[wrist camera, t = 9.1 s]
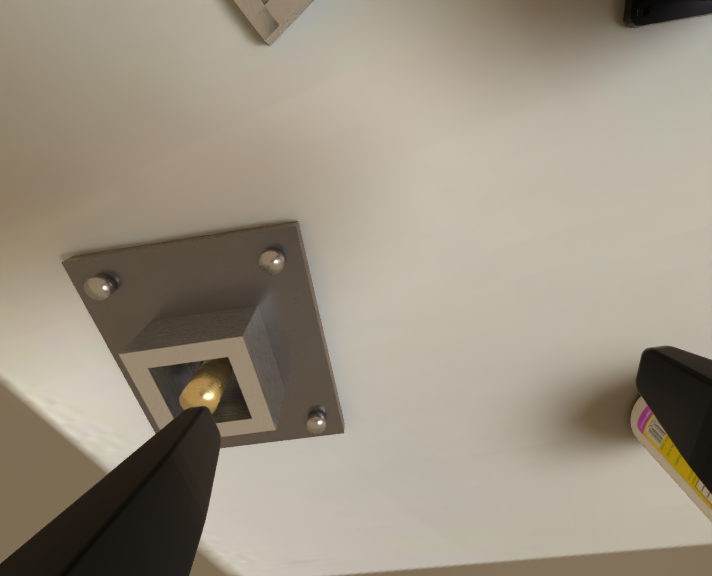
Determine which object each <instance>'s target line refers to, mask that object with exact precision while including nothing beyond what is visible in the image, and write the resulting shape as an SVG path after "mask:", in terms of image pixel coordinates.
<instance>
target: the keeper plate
mask: <svg viewBox="0 0 712 576" xmlns="http://www.w3.org/2000/svg"><path fill="white" fill-rule="evenodd" d="M62 264H63V266H64V268H65V270H66V271H67V273H68V275H69V277H70V279H71V280H72V282H73V284H74V286H75V288H76V290H77V291H78V293H79V295H80V297H81V299H82V300H83V302H84V304H85V306H86V308H87V310H88V311H89V313H90V315H91V317H92V319H93V320H94V322H95V324H96V326H97V328H98V329H99V331H100V333H101V335H102V337H103V339H104V340H105V342H106V344H107V346H108V348H109V349H110V351H111V353H112V355H113V357H114V359H115V360H116V362H117V364H118V366H119V368H120V369H121V371H122V373H123V375H124V377H125V379H126V380H127V382H128V384H129V386H130V388H131V389H132V391H133V393H134V395H135V397H136V399H137V400H138V402H139V404H140V406H141V408H142V409H143V411H144V413H145V415H146V417H147V419H148V420H149V422H150V424H151V426H152V428H153V429H154V431H155V433H158V432H159V431H160V429H159V427H158V425H157V423H156V421H155V420H154V418H153V416H152V414H151V412H150V411H149V409H148V407H147V405H146V403H145V401H144V400H143V398H142V396H141V394H140V392H139V391H138V389H137V387H136V385H135V383H134V381H133V380H132V378H131V376H130V374H129V372H128V371H127V369H126V367H125V365H124V363H123V361H122V360H121V358H120V356H119V353H120V352H121V351H122V350H123V349H124V348H125V347H126V346H127V345H128V344H129V343H130V342H131V341H132V340H133V339H134V338H135V337H136V336H137V335H138V334H139V333H140V332H141V331H142V330H143V329H144V328H145V327H146V325H147V324H148V323H149V322H150V321H155V320H162V319H169V318H175V317H182V316H189V315H195V314H202V313H209V312H215V311H222V310H228V309H235V308H242V307H248V306H255V305H258V308H259V311H260V314H261V317H262V320H263V323H264V326H265V330H266V333H267V336H268V339H269V342H270V345H271V348H272V351H273V355H274V358H275V361H276V364H277V367H278V370H279V373H280V376H281V380H282V383H283V386H284V389H285V394H284V398H283V402H282V406H281V410H280V415H279V419H278V423H277V427H276V430H272V431H264V432H256V433H249V434H241V435H233V436H225V437H221V445H220V448H226V447H234V446H242V445H250V444H259V443H267V442H275V441H283V440H291V439H299V438H308V437H316V436H324V435H332V434H340V433H344V420H343V415H342V411H341V406H340V402H339V398H338V393H337V389H336V385H335V380H334V376H333V371H332V367H331V363H330V358H329V354H328V350H327V345H326V341H325V337H324V332H323V328H322V323H321V319H320V315H319V310H318V306H317V302H316V297H315V293H314V288H313V284H312V280H311V275H310V271H309V267H308V262H307V258H306V253H305V249H304V245H303V240H302V236H301V232H300V227H299V223H298V222H291V223H285V224H279V225H272V226H266V227H259V228H253V229H247V230H240V231H234V232H227V233H221V234H214V235H208V236H202V237H195V238H189V239H182V240H176V241H170V242H163V243H157V244H150V245H144V246H137V247H131V248H125V249H118V250H112V251H105V252H99V253H93V254H86V255H80V256H73V257H71V258H69V259H67V260H65V261H63V262H62ZM189 366H190V368H191V370H192V372H193V375H192V377H191V378H190V380H189V382H188V383H187V385H186V387H185V388H184V390H183V392H182V393H181V395H180V397H179V403H180V405H181V407H182V408H183V409H184V410H185V409H187V408H191V407H198V406H206V407H208V408H209V409H210V411H211V413H213V412H214V411H215V410H216V408H217V405H218V403H219V401H220V399H221V397H222V395H223V392H224V390H225V388H226V386H227V385H234V384H239V383H238V381H237V378H236V375H235V373H234V370H233V368H232V365H231V363H230V360H229V357H224V358H217V359H210V360H203V361H196V362H189Z"/></svg>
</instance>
